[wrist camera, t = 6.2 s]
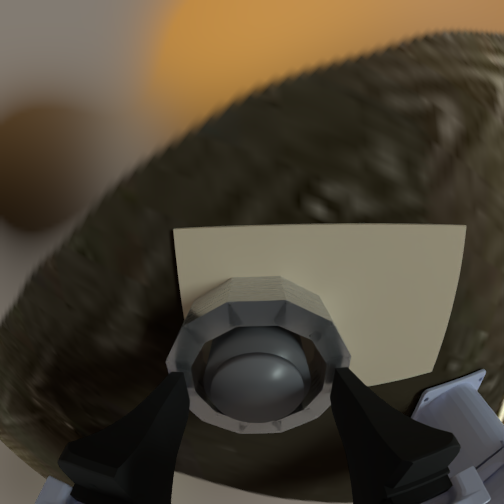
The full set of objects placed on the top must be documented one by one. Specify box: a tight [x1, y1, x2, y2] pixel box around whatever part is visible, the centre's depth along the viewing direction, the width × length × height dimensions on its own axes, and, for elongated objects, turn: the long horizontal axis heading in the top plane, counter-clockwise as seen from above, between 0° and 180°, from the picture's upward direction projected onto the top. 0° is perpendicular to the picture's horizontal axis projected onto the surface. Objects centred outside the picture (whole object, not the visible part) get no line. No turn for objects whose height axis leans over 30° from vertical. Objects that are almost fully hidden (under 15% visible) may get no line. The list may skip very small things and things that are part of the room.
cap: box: [204, 325, 311, 423], centre depth 13 cm, size 5×5×4 cm
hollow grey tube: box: [166, 276, 351, 434], centre depth 14 cm, size 9×9×3 cm
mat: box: [173, 223, 466, 386], centre depth 15 cm, size 11×17×1 cm, turn 92°
